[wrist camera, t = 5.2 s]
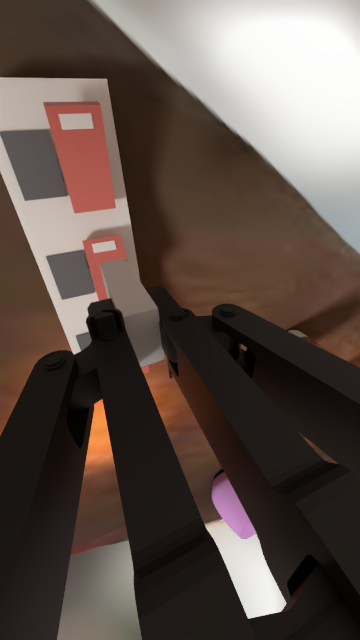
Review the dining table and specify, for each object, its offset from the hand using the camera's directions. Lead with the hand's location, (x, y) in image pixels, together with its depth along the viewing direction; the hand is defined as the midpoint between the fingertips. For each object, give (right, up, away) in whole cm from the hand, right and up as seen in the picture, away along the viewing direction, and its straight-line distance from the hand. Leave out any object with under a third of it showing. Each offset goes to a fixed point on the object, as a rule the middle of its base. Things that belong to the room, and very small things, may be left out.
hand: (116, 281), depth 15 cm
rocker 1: (-3, +9, +3) cm, 10 cm away
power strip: (-6, +2, +14) cm, 16 cm away
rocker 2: (-3, +2, +8) cm, 9 cm away
